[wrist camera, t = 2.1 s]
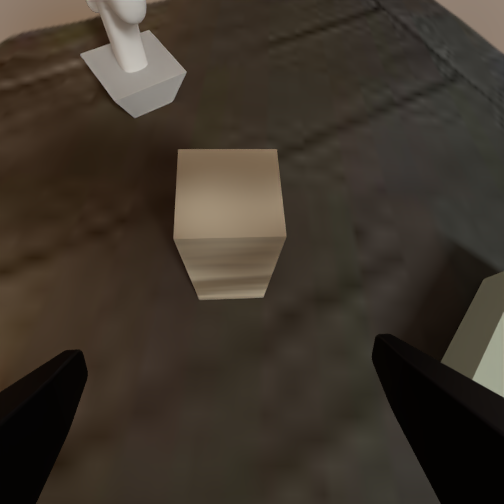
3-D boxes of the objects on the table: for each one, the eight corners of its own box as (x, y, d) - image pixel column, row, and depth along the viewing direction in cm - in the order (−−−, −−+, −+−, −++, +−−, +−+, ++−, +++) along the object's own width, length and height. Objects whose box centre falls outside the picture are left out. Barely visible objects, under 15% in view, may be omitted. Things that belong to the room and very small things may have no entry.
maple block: (263, 297, 23) (286, 236, 13) (199, 299, 23) (173, 238, 13) (259, 240, 25) (276, 149, 15) (200, 241, 25) (178, 149, 15)
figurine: (152, 59, 33) (96, -165, 20) (197, 111, 31) (168, -106, 17) (91, 83, 31) (-19, -148, 18) (133, 140, 29) (41, -79, 15)
